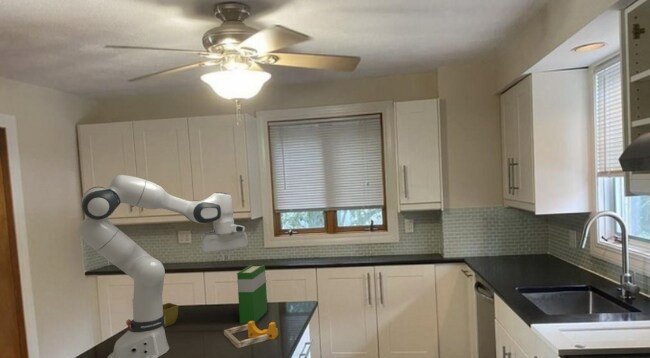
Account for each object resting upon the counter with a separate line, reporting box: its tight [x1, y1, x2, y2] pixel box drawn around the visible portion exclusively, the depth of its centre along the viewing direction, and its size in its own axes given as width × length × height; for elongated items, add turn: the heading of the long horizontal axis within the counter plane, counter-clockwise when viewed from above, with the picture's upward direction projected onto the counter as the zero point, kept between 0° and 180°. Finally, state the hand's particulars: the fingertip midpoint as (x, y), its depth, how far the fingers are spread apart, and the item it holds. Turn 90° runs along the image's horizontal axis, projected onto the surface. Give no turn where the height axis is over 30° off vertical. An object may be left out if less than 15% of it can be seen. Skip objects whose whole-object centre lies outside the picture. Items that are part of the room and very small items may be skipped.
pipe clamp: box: [247, 321, 279, 340], centre depth 172 cm, size 12×4×6 cm, turn 74°
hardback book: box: [236, 264, 268, 325], centre depth 197 cm, size 18×7×24 cm, turn 169°
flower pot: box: [163, 302, 179, 328], centre depth 192 cm, size 9×9×9 cm
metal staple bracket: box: [223, 324, 269, 349], centre depth 172 cm, size 14×18×2 cm
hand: (225, 260), depth 175 cm, fingers closed
